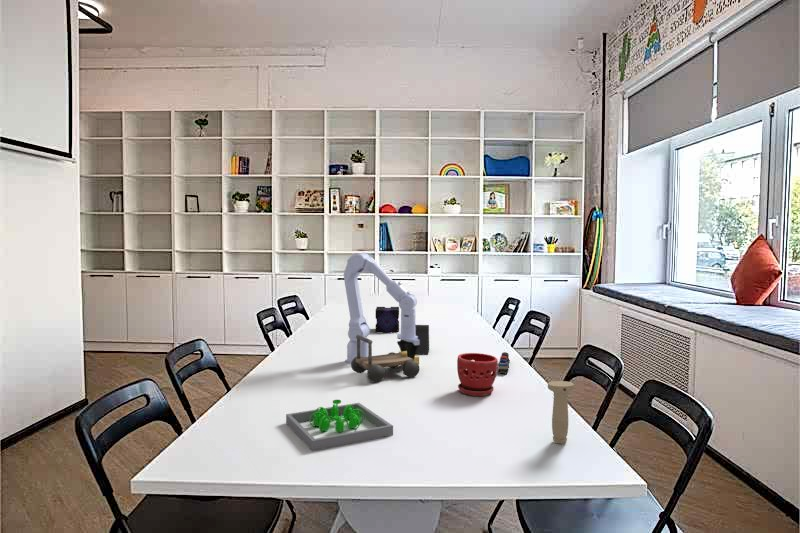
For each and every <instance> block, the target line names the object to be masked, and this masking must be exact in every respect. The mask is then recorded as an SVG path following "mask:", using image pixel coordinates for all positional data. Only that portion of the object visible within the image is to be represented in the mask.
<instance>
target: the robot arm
mask: <svg viewBox="0 0 800 533" xmlns="http://www.w3.org/2000/svg"><path fill="white" fill-rule="evenodd" d="M346 261H347V264H346V266H345V269H344V272H343V281H344V286H345V293H346V298H347V299H346V300H347V306H348V311H349V312H348V313H349V317H350V319H349V322H348V331H347V336H348V339H349V341H348V343H347V345H346V347H347V348H346V349H347V350H346V354H347V355H346V357H347V358H346V359H345V360H344V361H345V362H347V363H348V364H350V365H351V362H352V360H353V359H354V358H355V357H357V338H356V336H357V335H360V336H362V337H365V338H367V339H369V335H370V332H371V328H370V326H369V325H368V323H367V319H366V317H365V316H364V313H363V312H364V311H363V306H362V298H361V293H360V287H359V281H358V277H359V276H360V274H362V272H363V271H364V272H368V273H369V272H370V273H372V274H373V275H374V276H375V277H376V278H377V279H378V280H379V281H380V282H381V283H383V284H384V285H385V287H386V288H385V289H386V292H387V293H388V294H389V295H390V296H391V297H392V298H393V299H394V300H395V301H396V302H398V307H399V309H400V333H396V335H397V337H396V338H397V339H398V341H397V342H396V343H397V345H398V347H399V349H400V352H401V351H407V357H410V358H412V359H414V358H415V355H417V354H416V351H417V349H418V347H419V345H420V340H418V339H417V338H418V336H415V326H416V325H417V324H416V321H417V320H416V307H417V304H418V301H417V297H416V296H415V295H414V294H412V293H411V292H410V291H409V290H407V289H406V288H405V287H404V285H403V286H402V284H403V283H402V282H401V281H398V280H397V279H394V280H393V279H392V278H391V277H390V275H389V274H387V273H386V271H385V270H384V269H383V268H382V267H381V266H380V265H379V264H378V262H377V261H376V260H375V258H373V257H371V255H370V254H369V253H367V252H361V253H354V254H352V255H351V256H350V257H349V258H348V259H347V260H346ZM360 356H361V357H368V343H367V342H364V341H362V340H360Z"/></svg>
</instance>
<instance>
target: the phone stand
mask: <svg viewBox="0 0 800 533" xmlns="http://www.w3.org/2000/svg"><path fill="white" fill-rule="evenodd" d="M415 336H418V338H417V339H418V340H420V345H419V347H418V349H417V351H416V354H415V355H423V356H424V355H426V356H427V355H429V352H430V326H429V324H416V326H415Z"/></svg>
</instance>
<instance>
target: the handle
mask: <svg viewBox="0 0 800 533" xmlns="http://www.w3.org/2000/svg"><path fill="white" fill-rule="evenodd" d="M547 389H548V390H549V391H551V392H552V393H553V404H552V415H551V416H552V417H551V429H552V435H553V436H552V441H553V442H554V443H555V444H559V445H563V444H566V443H567V441H568V431H569V403H568V401H569V400H568V399H569V398H568V395H569V393H570V392H572V391H574V390H575V383H573V382H571V381H566V380H563V381H562V380H558V381H555V380H552V381H549V382H547Z"/></svg>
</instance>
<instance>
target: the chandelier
mask: <svg viewBox="0 0 800 533" xmlns="http://www.w3.org/2000/svg"><path fill="white" fill-rule="evenodd" d="M341 403H342V400H340V399H334V400H332V406H330V407H331V416H328V412H327V410H326V409H325V408H326V407H323V406H320V407H317V408H316V409H315V410H316V412H315V413H313V414H315V415H314V418H313V420H312V421H313V423H311V420H310V419H311V417H312V415H313V414H312V415H311V416H310V419H309V424H310V425H311V426H312V427H313V428H316V427H318V428H319V431H320V432H321V433H324V432H325V431H326V430H327V431H328V430H329V428H330V426H331V422H332V421H335V431H336V432H338V433H339V434H342V432H343V431H344V429H345V422H344V421H346V426H347V427H348V428H349V429H354V430H357V429H359V427H360V424H361V423H362V422H363V421H364V419H365V418H364V413H363V412H362V410H360V409H354V408H353V406H352V405H347V404H346V405H347V406H346V407H345V409H344V414H343V415H339V416H338V406H339V404H341ZM350 406H351V408H350ZM318 409H320V410H318ZM323 409H324V410H323ZM317 410H318V412H317ZM354 410H355V411H354ZM358 410H360V411H361V412H362V413H363V416H362V419H361V415H360V412H359V411H358ZM326 415H327V416H326ZM326 417H327V418H326ZM315 426H316V427H315Z"/></svg>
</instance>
